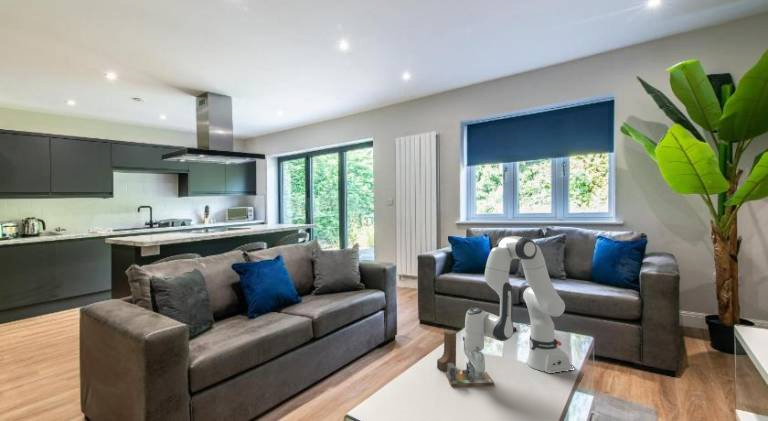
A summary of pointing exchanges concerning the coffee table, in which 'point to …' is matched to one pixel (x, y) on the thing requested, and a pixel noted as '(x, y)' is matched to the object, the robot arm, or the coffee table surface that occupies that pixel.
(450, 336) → the wooden block
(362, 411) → the coffee table surface
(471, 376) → the block
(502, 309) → the robot arm
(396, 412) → the coffee table surface
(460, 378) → the amber brick
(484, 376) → the bench
